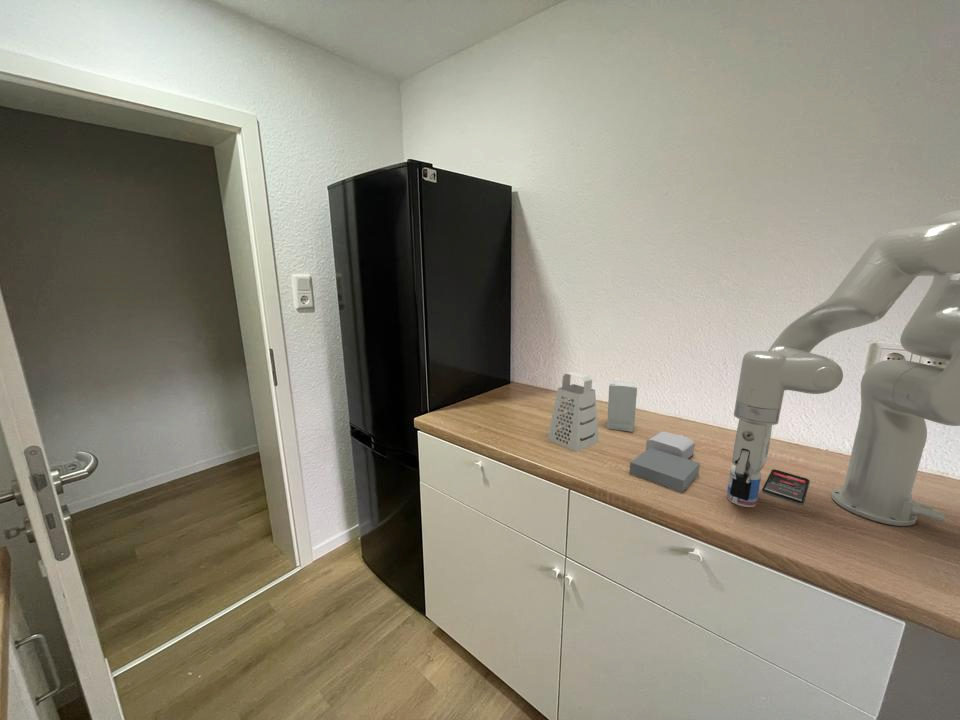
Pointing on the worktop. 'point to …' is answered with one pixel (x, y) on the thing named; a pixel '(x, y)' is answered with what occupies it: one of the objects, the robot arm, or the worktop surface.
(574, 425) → the grater
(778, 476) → the smartphone
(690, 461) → the grey pad
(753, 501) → the pill bottle
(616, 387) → the skincare box
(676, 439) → the charger
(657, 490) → the worktop surface
